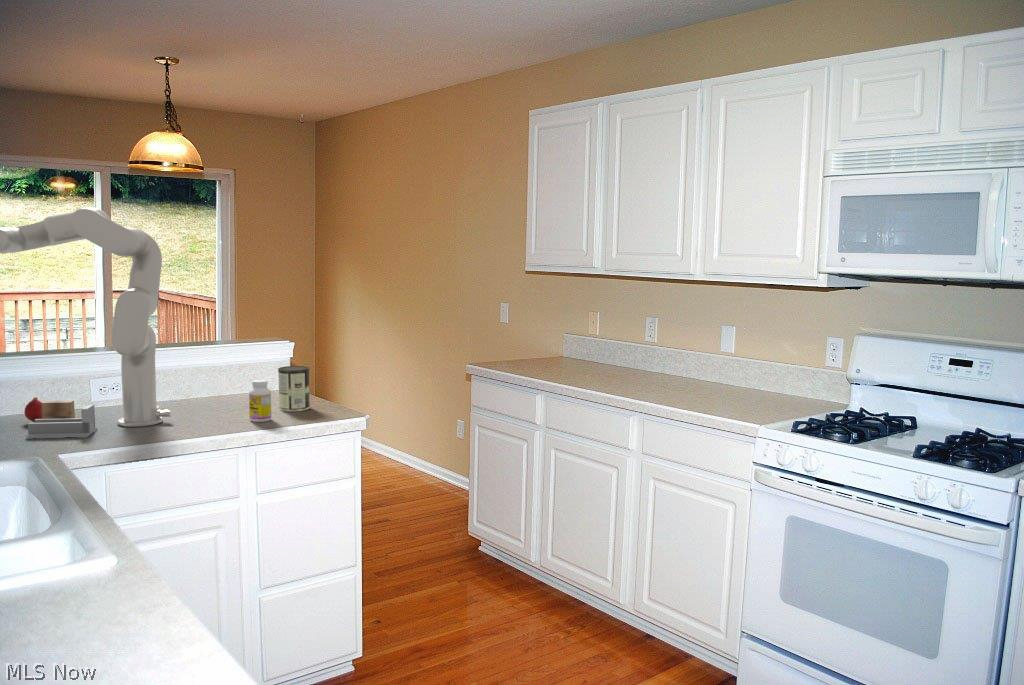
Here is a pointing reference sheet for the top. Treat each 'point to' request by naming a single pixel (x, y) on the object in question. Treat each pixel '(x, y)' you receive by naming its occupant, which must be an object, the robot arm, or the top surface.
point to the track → (64, 426)
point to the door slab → (58, 409)
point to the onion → (33, 410)
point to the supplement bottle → (260, 401)
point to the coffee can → (293, 388)
